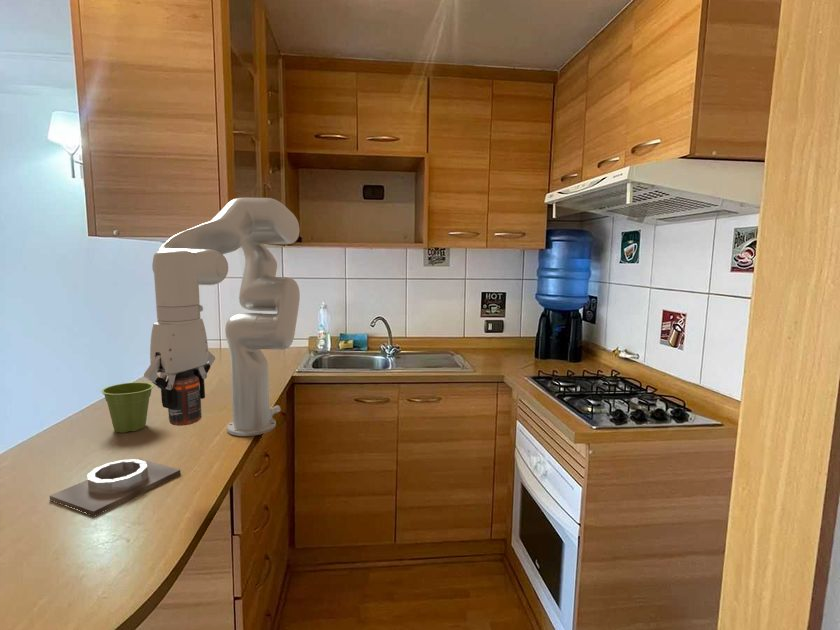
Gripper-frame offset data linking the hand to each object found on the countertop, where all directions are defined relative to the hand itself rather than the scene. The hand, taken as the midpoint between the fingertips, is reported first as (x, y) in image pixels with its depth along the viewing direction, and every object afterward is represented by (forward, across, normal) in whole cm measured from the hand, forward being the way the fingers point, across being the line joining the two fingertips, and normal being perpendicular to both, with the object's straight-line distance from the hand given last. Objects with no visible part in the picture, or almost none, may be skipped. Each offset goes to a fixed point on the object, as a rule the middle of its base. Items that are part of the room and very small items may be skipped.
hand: (184, 401), depth 93 cm
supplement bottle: (+4, 0, 0) cm, 4 cm away
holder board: (+18, +7, -12) cm, 22 cm away
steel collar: (+18, +7, -12) cm, 22 cm away
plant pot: (+18, -15, -40) cm, 46 cm away
